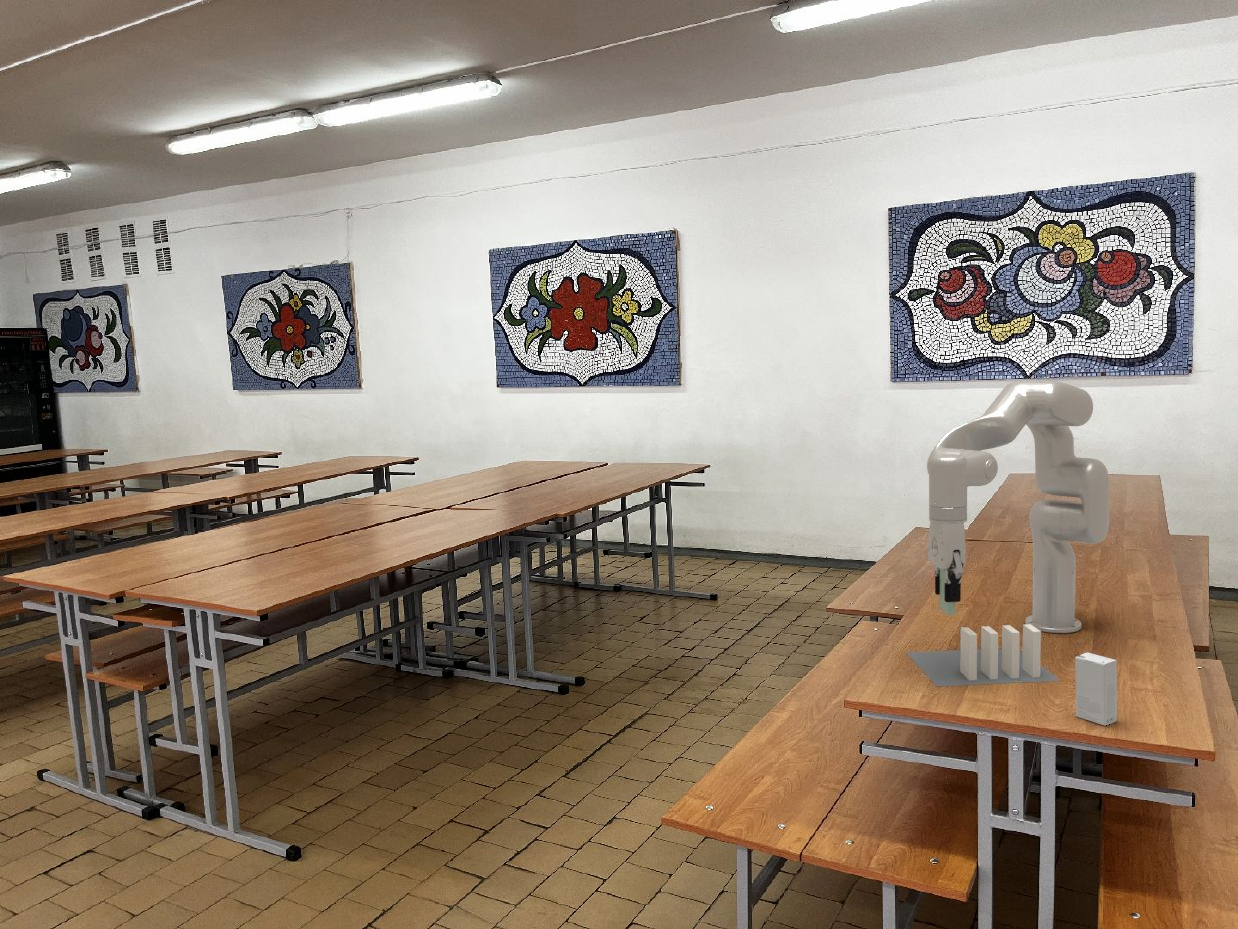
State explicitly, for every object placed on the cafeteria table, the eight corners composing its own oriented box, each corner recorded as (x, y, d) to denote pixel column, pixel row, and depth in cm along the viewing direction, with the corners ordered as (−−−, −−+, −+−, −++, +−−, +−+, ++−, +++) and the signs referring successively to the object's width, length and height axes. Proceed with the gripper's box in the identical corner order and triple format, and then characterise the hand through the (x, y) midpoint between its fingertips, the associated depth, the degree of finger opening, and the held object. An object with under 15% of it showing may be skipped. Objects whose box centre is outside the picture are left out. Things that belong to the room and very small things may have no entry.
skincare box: (1118, 721, 176) (1119, 659, 174) (1104, 727, 173) (1106, 665, 172) (1086, 711, 181) (1088, 650, 179) (1073, 717, 179) (1074, 656, 177)
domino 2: (988, 670, 203) (988, 626, 201) (997, 679, 198) (998, 633, 196) (981, 671, 203) (981, 626, 201) (990, 679, 198) (990, 633, 196)
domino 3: (1009, 669, 203) (1009, 625, 201) (1019, 678, 198) (1019, 632, 196) (1001, 670, 203) (1002, 625, 201) (1011, 678, 198) (1012, 632, 196)
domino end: (947, 608, 201) (947, 562, 199) (955, 615, 196) (955, 568, 194) (939, 608, 201) (939, 563, 199) (947, 615, 196) (947, 568, 194)
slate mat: (1017, 649, 216) (1017, 647, 216) (1060, 682, 195) (1060, 680, 195) (905, 654, 216) (905, 652, 216) (936, 688, 195) (936, 686, 195)
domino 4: (1029, 668, 203) (1030, 624, 201) (1040, 677, 198) (1041, 631, 196) (1022, 669, 203) (1023, 624, 201) (1032, 677, 198) (1033, 631, 196)
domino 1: (967, 671, 203) (968, 627, 201) (976, 680, 198) (977, 634, 196) (960, 672, 203) (960, 627, 201) (969, 680, 198) (969, 634, 196)
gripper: (916, 506, 204) (916, 588, 206) (944, 522, 187) (944, 610, 189) (951, 505, 204) (950, 586, 206) (981, 520, 187) (981, 608, 189)
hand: (947, 597), depth 198 cm, fingers closed on domino end, 4 cm apart
